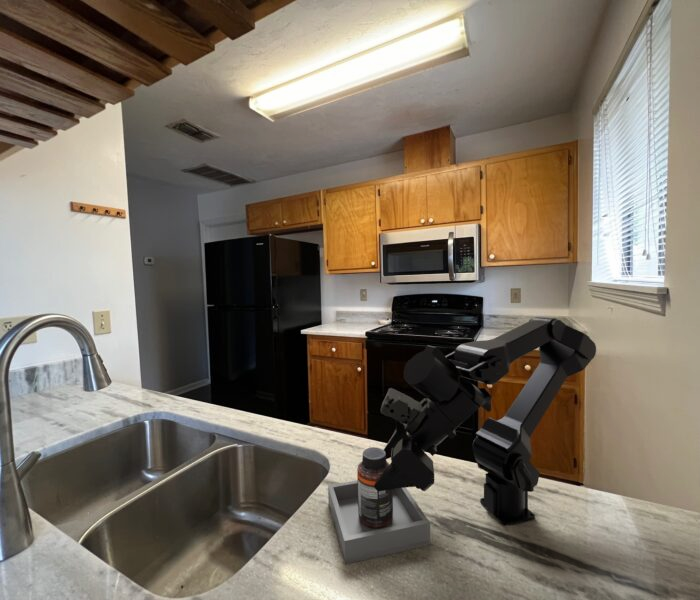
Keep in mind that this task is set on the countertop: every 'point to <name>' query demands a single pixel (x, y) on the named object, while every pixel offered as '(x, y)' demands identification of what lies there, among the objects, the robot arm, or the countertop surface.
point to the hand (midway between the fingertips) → (379, 471)
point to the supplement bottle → (373, 490)
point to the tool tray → (375, 542)
